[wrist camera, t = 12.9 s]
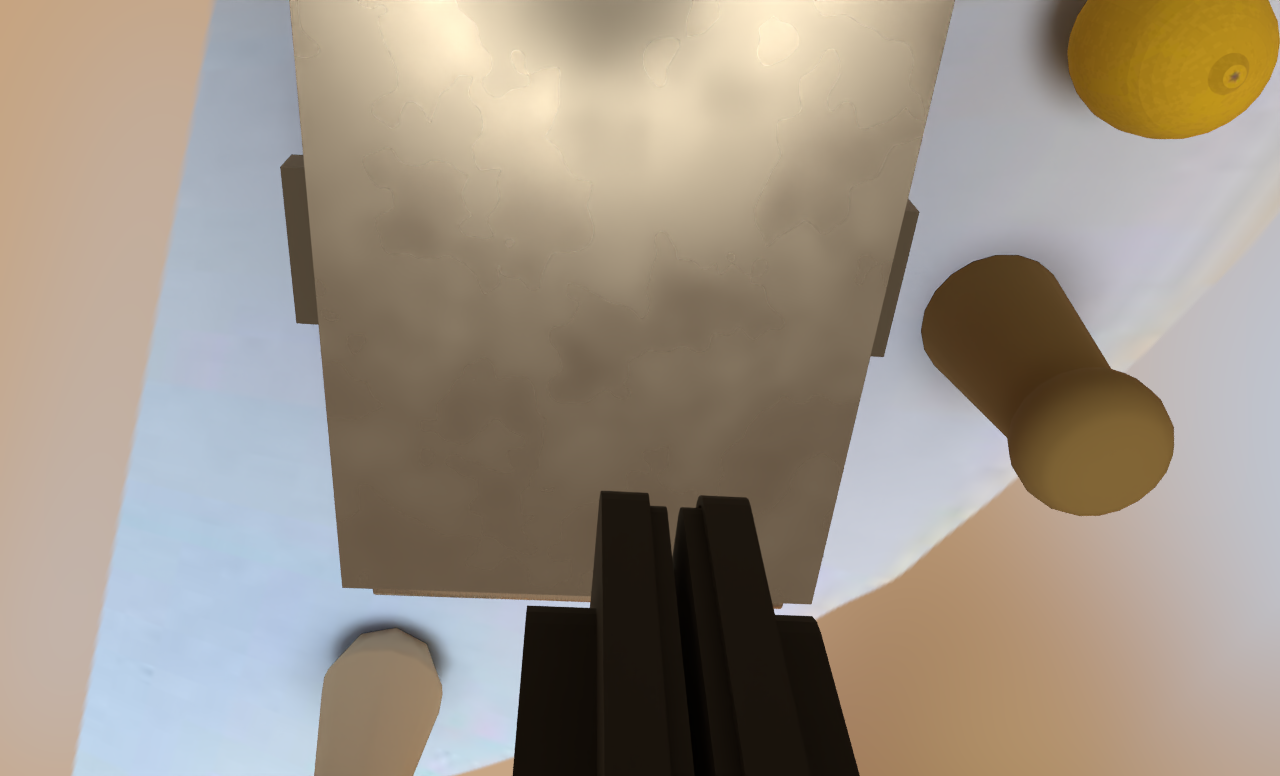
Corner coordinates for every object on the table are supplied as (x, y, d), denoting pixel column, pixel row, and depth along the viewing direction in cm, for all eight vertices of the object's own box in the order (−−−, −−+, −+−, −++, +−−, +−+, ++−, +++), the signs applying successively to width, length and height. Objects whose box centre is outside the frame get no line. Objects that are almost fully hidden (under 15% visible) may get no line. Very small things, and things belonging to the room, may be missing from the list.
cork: (1002, 402, 43) (1118, 567, 34) (893, 348, 41) (982, 506, 32) (1093, 292, 40) (1246, 437, 31) (980, 230, 39) (1106, 363, 29)
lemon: (1119, -93, 33) (1258, -69, 26) (1218, 8, 35) (1373, 54, 28) (1000, 44, 35) (1100, 99, 28) (1099, 132, 37) (1216, 204, 30)
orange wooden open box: (330, -143, 31) (233, -128, 23) (896, -88, 33) (1002, -55, 24) (365, 388, 41) (307, 535, 33) (796, 411, 43) (847, 557, 34)
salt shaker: (471, 663, 50) (436, 908, 39) (390, 712, 51) (335, 960, 40) (391, 597, 47) (329, 839, 36) (309, 650, 49) (225, 898, 38)
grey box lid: (282, -249, 21) (266, -252, 20) (978, -175, 23) (996, -175, 22) (351, 576, 33) (343, 601, 32) (801, 593, 35) (808, 616, 34)
